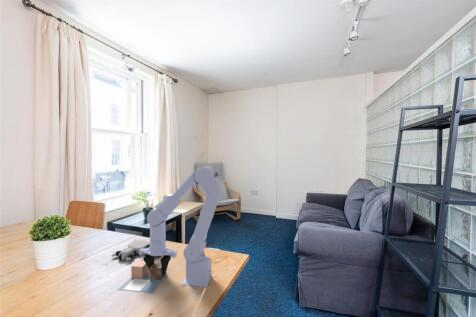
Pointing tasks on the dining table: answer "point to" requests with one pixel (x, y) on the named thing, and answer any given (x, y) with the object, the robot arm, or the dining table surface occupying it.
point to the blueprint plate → (142, 284)
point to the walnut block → (156, 271)
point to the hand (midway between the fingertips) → (158, 273)
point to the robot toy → (132, 249)
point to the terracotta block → (139, 269)
